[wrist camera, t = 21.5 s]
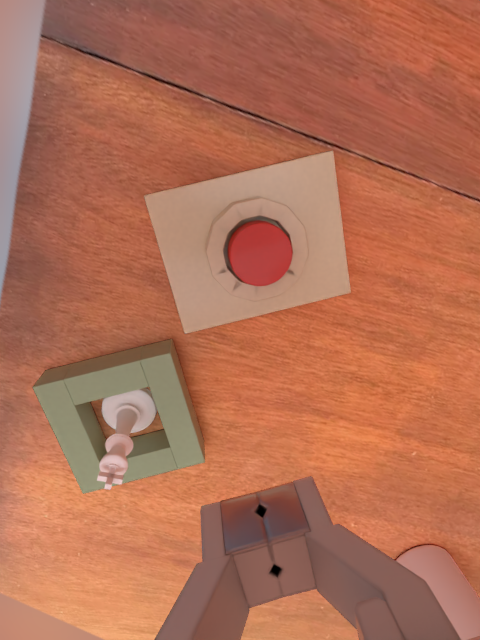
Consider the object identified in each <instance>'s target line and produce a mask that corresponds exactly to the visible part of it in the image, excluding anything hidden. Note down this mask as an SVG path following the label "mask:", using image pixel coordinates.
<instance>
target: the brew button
mask: <svg viewBox="0 0 480 640" xmlns="http://www.w3.org/2000/svg"><path fill="white" fill-rule="evenodd" d="M228 259H229V262H230V265H231V267H232V269H233V271H234V273H235V274H236V275H237V277H238V278H240V279H241V280H242V281H243V282H245V283H247V284H250V285H254V286H266V285H270V284H272V283H275V282H276V281H278V280H279V279H280V278H282V277H283V276H284V275H285V273H286V272H287V270H288V269H289V267H290V264H291V261H292V246H291V243H290V240H289V238H288V236H287V235H286V234H285V233H284V232H283V231H282V230H281V229H280V228H279V227H277V226H275V225H273V224H272V223H269V222H267V221H261V220H255V221H250V222H247V223H245V224H243V225H242V226H240V227H239V228H238V229H237V230H236V231H235V232H234V233H233V235H232V237H231V238H230V241H229V244H228Z"/></svg>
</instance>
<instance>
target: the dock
mask: <svg viewBox="0 0 480 640" xmlns="http://www.w3.org/2000/svg"><path fill="white" fill-rule="evenodd" d="M146 387H149V388H150V390H151V393H152V396H153V399H154V402H155V405H156V408H157V410H158V413H159V416H160V419H161V422H162V425H163V427H164V429H163V430H160V431H156V432H152V433H148V434H144V435H140V436H136V437H132V438H131V439H132V441H133V449H132V451H131V452H130V453H129V454H128V455H127V456H126V458H127V461H128V469H127V471H126V472H125V473H124V474H123V475H124V477H123V481H122V484H123V483H127V482H131V481H135V480H138V479H142V478H146V477H150V476H154V475H158V474H162V473H165V472H169V471H173V470H177V469H181V468H185V467H189V466H193V465H196V464H200V463H204V462H205V448H204V439H203V436H202V433H201V429H200V426H199V423H198V420H197V417H196V413H195V410H194V407H193V404H192V401H191V397H190V394H189V391H188V388H187V384H186V381H185V378H184V375H183V372H182V368H181V365H180V362H179V359H178V356H177V352H176V349H175V346H174V343H173V340H172V339H169V340H165V341H161V342H157V343H153V344H149V345H145V346H141V347H137V348H133V349H129V350H125V351H121V352H117V353H113V354H109V355H105V356H101V357H97V358H93V359H89V360H85V361H80V362H76V363H73V364H69V365H64V366H60V367H56V368H52V369H48V370H45V372H44V373H43V374H42V376H41V377H40V378H39V379H38V381H37V382H36V383H35V385H34V386H33V390H34V392H35V394H36V396H37V398H38V400H39V402H40V404H41V406H42V409H43V411H44V413H45V415H46V417H47V419H48V421H49V423H50V425H51V427H52V430H53V432H54V434H55V436H56V438H57V440H58V442H59V444H60V446H61V448H62V451H63V453H64V455H65V457H66V459H67V461H68V463H69V465H70V467H71V469H72V472H73V474H74V476H75V478H76V480H77V482H78V484H79V486H80V488H81V490H82V493H83V494H84V493H88V492H92V491H96V490H100V489H104V487H105V483H106V482H102V481H97V478H98V474H99V471H100V468H99V464H100V461H101V459H102V458H103V457H104V456H105V455H106V454H107V453H108V452H107V451H106V447H105V443H106V439H105V436H104V434H103V432H102V429H101V427H100V424H99V422H98V420H97V417H96V415H95V413H94V410H93V408H92V406H91V403H90V402H91V401H95V400H99V399H103V398H107V397H111V396H115V395H119V394H123V393H127V392H131V391H134V390H138V389H142V388H146ZM115 485H119V484H114V483H112V486H115Z"/></svg>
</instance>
